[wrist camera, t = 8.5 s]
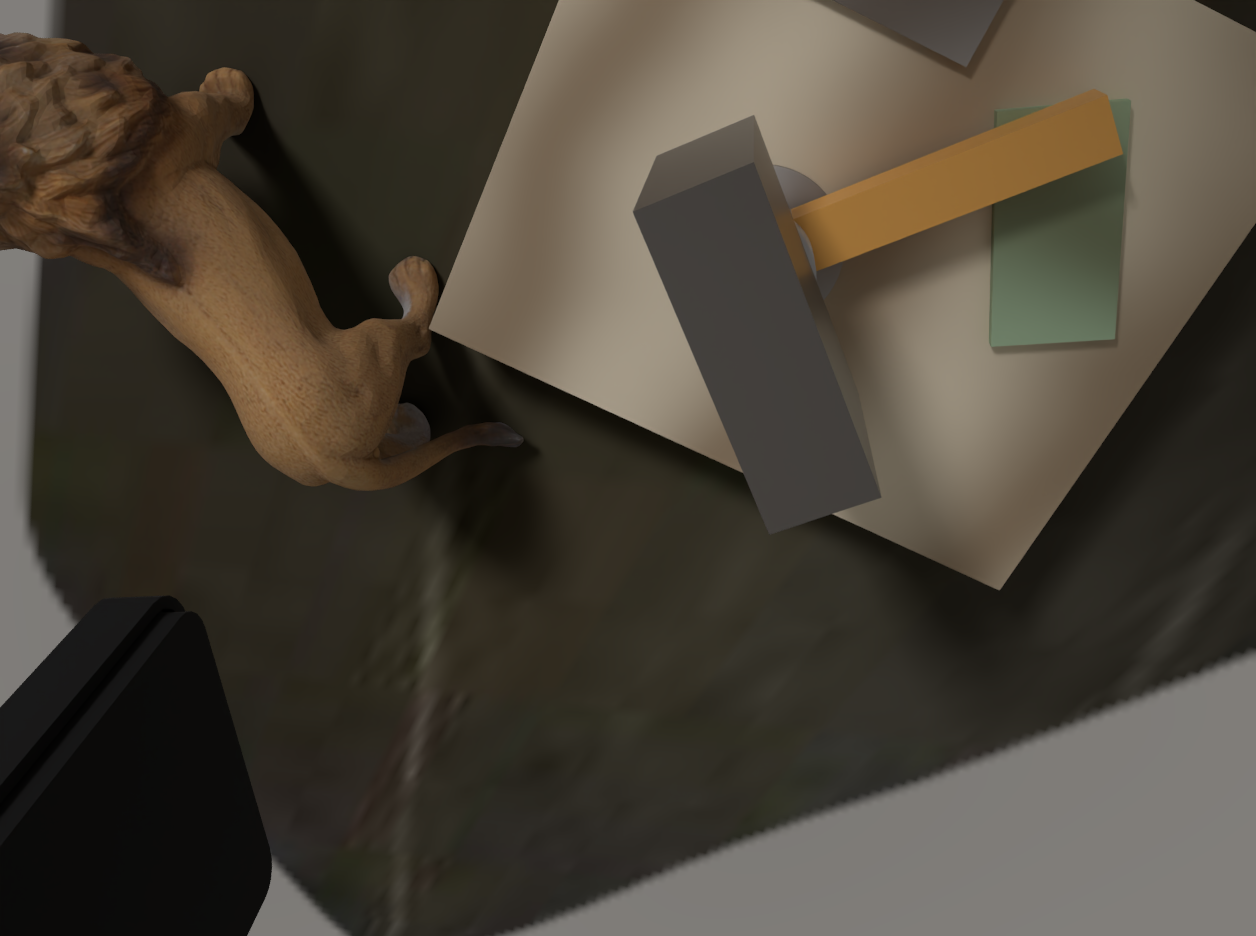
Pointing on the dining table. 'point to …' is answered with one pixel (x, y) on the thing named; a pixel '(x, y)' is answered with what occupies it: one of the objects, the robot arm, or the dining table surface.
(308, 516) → the dining table surface
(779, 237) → the latch
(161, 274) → the lion figurine
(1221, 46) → the dial board
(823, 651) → the dining table surface
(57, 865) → the robot arm
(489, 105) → the dining table surface
